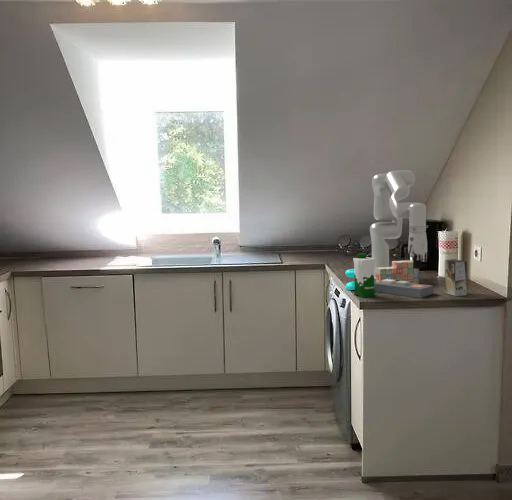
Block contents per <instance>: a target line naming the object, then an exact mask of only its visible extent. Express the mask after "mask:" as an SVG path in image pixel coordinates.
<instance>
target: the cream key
mask: <svg viewBox="0 0 512 500" xmlns="http://www.w3.org/2000/svg"><path fill="white" fill-rule="evenodd" d="M381 283H385V284H393V283H395V280H391V279H385V280H381Z"/></svg>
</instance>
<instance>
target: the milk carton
mask: <svg viewBox="0 0 512 500" xmlns="http://www.w3.org/2000/svg"><path fill="white" fill-rule="evenodd" d="M352 259H353V269H355V278H354V282H355V291H353V292H354V294H353V295H354V296H356V295H358V296H357V297H360V296H361V297H360V298H369V297H376V292H375V289H374V283H375V279H374V265H375V260H376V259H374V258H372V257H367V253H366V252H365V253H363V252H362V253H361V252H360V253H359V252H358V253H357V254H356V257H355V258H354V257H353V258H352Z"/></svg>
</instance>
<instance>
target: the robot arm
mask: <svg viewBox="0 0 512 500" xmlns="http://www.w3.org/2000/svg"><path fill="white" fill-rule="evenodd" d="M371 179H372V180H371V188H372V190H373V217H374V220H376V221H378V222H374V223H372V224H371V225H370V227H369V235H370V241H371V258H374V259H376V260H375V265H374V280H376V268H379V267H390V247H389V244H388V243H387V242H386V240H392V239H393V240H394V239H399V238H400V237H401V236H402V232H403V231H402V230H403V219H408V228H409V229H408V233H409V235H408V240H407V241H408V244H407V245H408V246H407V249H408V250H407V251H408V254H409V257H410V258H412V260H413V268H414V269H419V270H421V268H422V259H423V256H424V255H425V254H427V252H428V239H427V238H428V237H427V206H426V204H425V203H421V202H400V201H402V200H404V199H406V198H407V197H408V196H409V194H410V193H411V190H410V188H411V187H413V186H414V185H415V182H416V176H415V174H414V172H413V171H411V170H409V169H403V170H401V169H399V170H391V171H388V173H378V174H377V173H376V174H375V175H374V176H372V178H371ZM388 190H390V192H391V195H390V192H389V191H388Z"/></svg>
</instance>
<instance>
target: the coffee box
mask: <svg viewBox="0 0 512 500" xmlns="http://www.w3.org/2000/svg"><path fill="white" fill-rule="evenodd" d="M467 266H468V262H467V261H466V260H461V259H457V258H456V259H455V258H454V259H444V293H445V294H448V295H451V296H453V297H454V296H455V297H460V296H461V297H462V296H467V281H468V280H467V279H468V278H467V277H468V276H467V274H468V273H467V272H468V267H467Z"/></svg>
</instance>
